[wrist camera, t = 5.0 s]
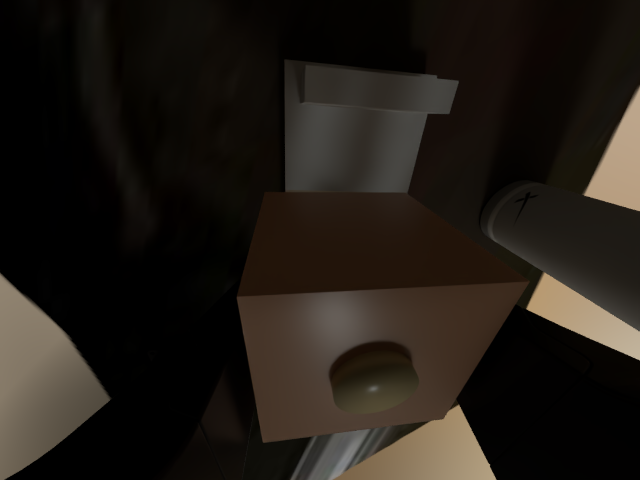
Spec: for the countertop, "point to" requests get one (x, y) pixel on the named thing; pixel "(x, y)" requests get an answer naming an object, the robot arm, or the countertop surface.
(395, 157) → the frame
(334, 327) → the box
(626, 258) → the travel mug
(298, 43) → the countertop surface
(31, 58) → the countertop surface
